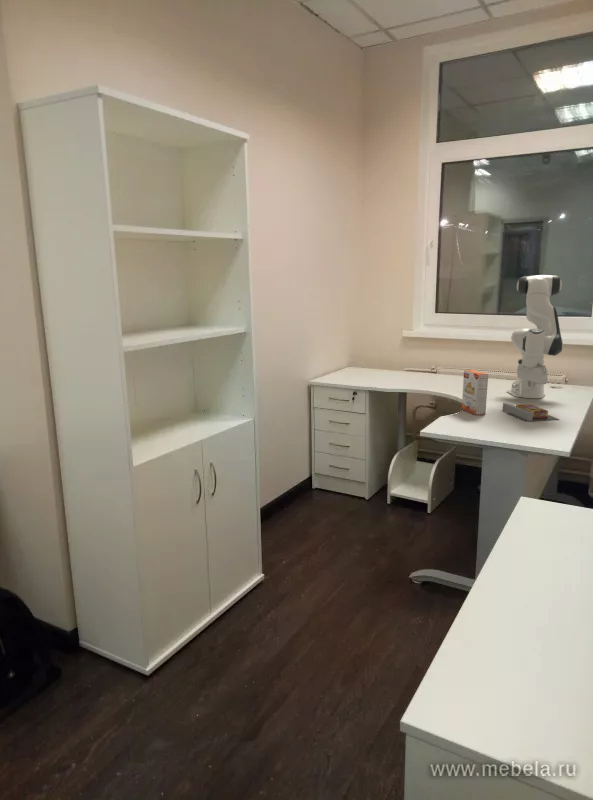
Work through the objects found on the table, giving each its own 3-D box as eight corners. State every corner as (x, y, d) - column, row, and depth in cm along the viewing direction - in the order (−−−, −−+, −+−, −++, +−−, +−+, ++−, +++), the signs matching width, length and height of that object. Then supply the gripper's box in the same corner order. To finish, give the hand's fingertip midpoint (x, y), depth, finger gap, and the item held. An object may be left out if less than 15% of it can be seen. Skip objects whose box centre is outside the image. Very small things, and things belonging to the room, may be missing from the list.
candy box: (532, 403, 290) (549, 410, 275) (531, 411, 291) (547, 419, 276) (515, 403, 289) (531, 411, 274) (514, 411, 290) (530, 419, 275)
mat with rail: (499, 410, 294) (500, 403, 294) (531, 409, 298) (531, 401, 297) (525, 421, 272) (526, 413, 272) (559, 419, 276) (560, 411, 275)
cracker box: (460, 409, 298) (463, 369, 293) (471, 408, 299) (474, 369, 294) (475, 415, 284) (478, 374, 280) (485, 414, 286) (489, 373, 281)
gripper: (552, 365, 270) (549, 394, 273) (527, 359, 290) (524, 386, 293) (540, 365, 269) (537, 394, 272) (515, 359, 289) (513, 386, 291)
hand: (530, 390), depth 282 cm, fingers closed
